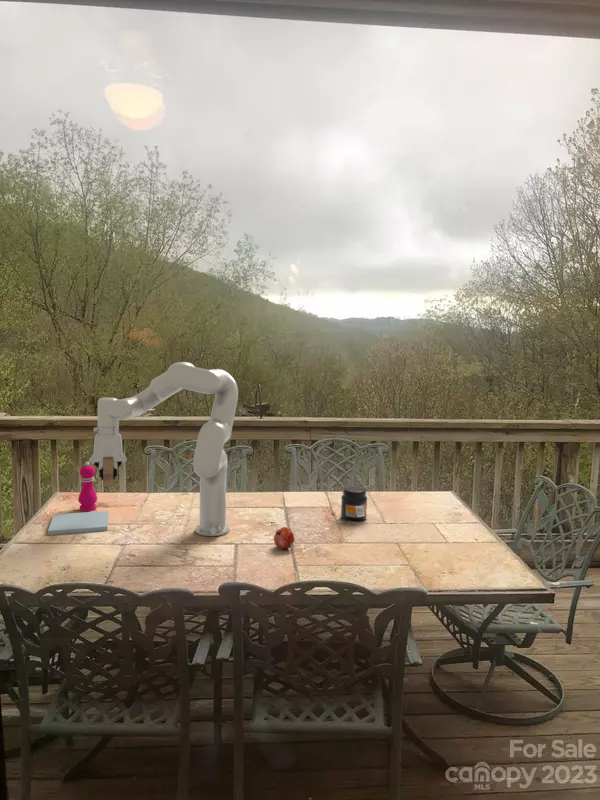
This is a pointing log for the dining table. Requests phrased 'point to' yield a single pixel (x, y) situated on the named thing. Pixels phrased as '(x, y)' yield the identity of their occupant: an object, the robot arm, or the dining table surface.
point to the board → (78, 522)
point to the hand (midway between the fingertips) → (108, 478)
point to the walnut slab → (107, 471)
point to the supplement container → (354, 503)
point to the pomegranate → (284, 538)
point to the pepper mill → (87, 488)
